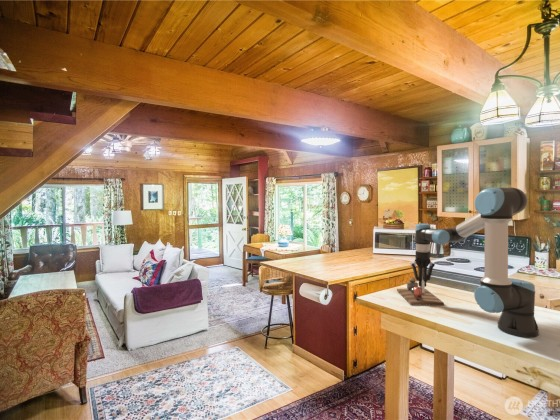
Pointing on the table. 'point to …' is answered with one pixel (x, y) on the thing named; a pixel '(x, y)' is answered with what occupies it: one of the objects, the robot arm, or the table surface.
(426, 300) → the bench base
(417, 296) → the lever
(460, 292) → the table surface
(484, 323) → the table surface
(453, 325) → the table surface
